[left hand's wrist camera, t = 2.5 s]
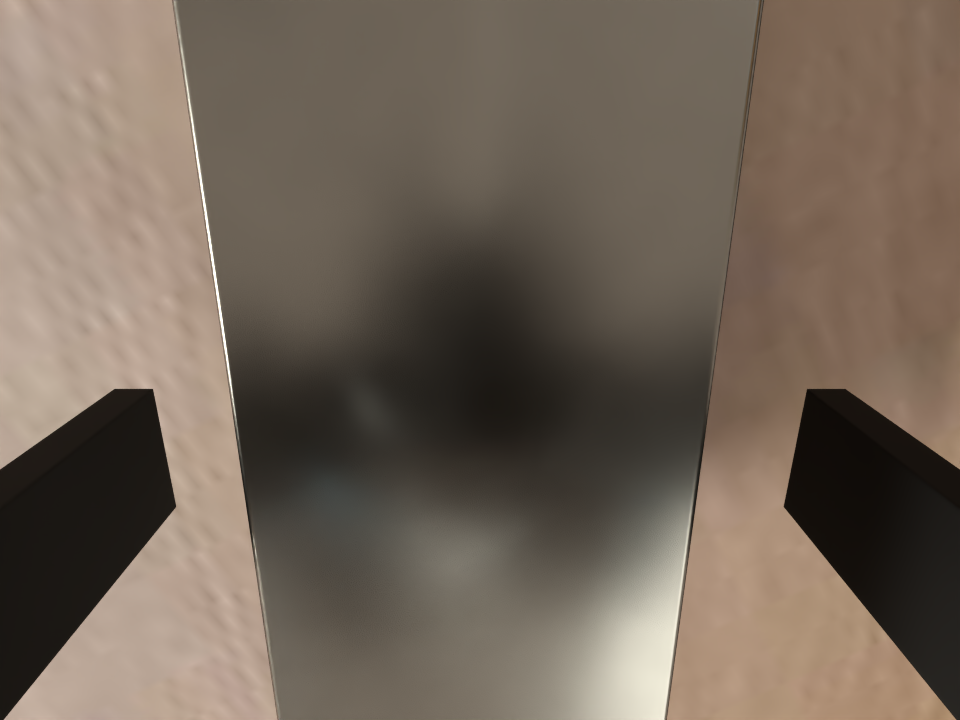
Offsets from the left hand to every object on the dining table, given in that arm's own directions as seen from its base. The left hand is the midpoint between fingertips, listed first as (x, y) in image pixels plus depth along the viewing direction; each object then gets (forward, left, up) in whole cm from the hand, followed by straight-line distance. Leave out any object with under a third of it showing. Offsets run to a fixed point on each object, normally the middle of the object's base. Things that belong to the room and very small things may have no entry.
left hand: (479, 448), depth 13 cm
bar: (+9, 0, -4) cm, 9 cm away
